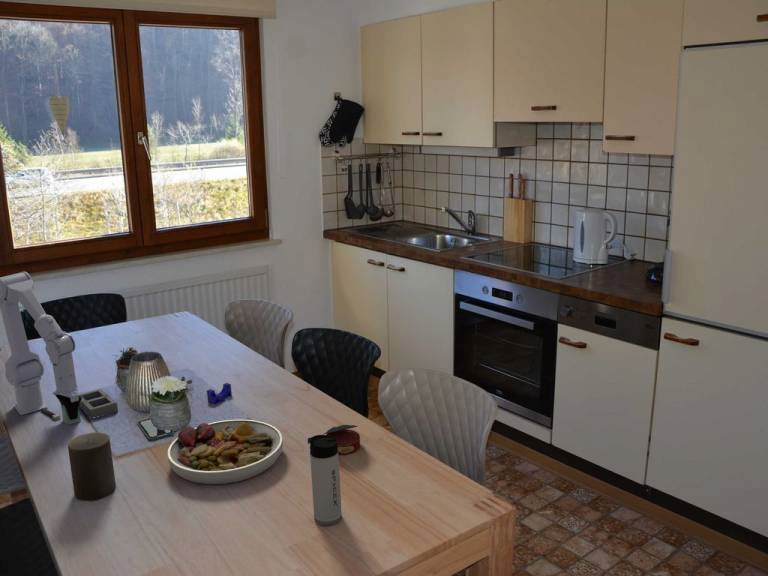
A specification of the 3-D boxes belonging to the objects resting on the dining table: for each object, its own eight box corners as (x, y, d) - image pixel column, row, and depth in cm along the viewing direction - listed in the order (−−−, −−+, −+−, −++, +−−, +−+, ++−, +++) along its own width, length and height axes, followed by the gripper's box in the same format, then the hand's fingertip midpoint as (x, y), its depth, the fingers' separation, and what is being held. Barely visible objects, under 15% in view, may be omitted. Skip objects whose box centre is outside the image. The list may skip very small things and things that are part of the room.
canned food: (327, 468, 196) (308, 438, 195) (341, 448, 205) (323, 419, 203) (360, 457, 191) (340, 426, 189) (373, 436, 200) (355, 406, 198)
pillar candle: (91, 505, 173) (83, 448, 169) (66, 494, 178) (58, 439, 174) (124, 487, 181) (117, 432, 177) (99, 477, 186) (92, 423, 182)
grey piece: (76, 404, 232) (75, 395, 231) (102, 397, 237) (100, 388, 236) (92, 419, 221) (90, 409, 220) (118, 411, 226) (116, 402, 225)
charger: (63, 420, 220) (60, 405, 219) (76, 416, 223) (74, 401, 221) (67, 424, 217) (64, 409, 216) (80, 420, 220) (78, 405, 218)
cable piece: (41, 412, 227) (40, 408, 227) (45, 410, 228) (44, 407, 228) (55, 420, 221) (55, 416, 221) (60, 418, 222) (59, 415, 222)
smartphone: (160, 415, 221) (174, 432, 208) (161, 418, 221) (175, 435, 209) (136, 421, 217) (149, 439, 205) (136, 424, 217) (149, 442, 205)
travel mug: (312, 511, 167) (307, 433, 162) (341, 509, 168) (337, 431, 162) (312, 527, 161) (307, 446, 156) (342, 525, 162) (337, 443, 156)
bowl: (302, 442, 202) (300, 416, 200) (249, 498, 175) (246, 468, 173) (209, 429, 212) (206, 405, 210) (145, 480, 184) (141, 452, 182)
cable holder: (214, 404, 228) (213, 393, 227) (208, 402, 231) (206, 390, 230) (234, 396, 234) (233, 385, 233) (227, 394, 237) (226, 382, 236)
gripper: (44, 371, 219) (50, 412, 223) (57, 385, 208) (64, 428, 212) (68, 365, 223) (74, 406, 227) (82, 378, 213) (89, 421, 216)
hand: (71, 416), depth 220 cm, fingers closed on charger, 4 cm apart
